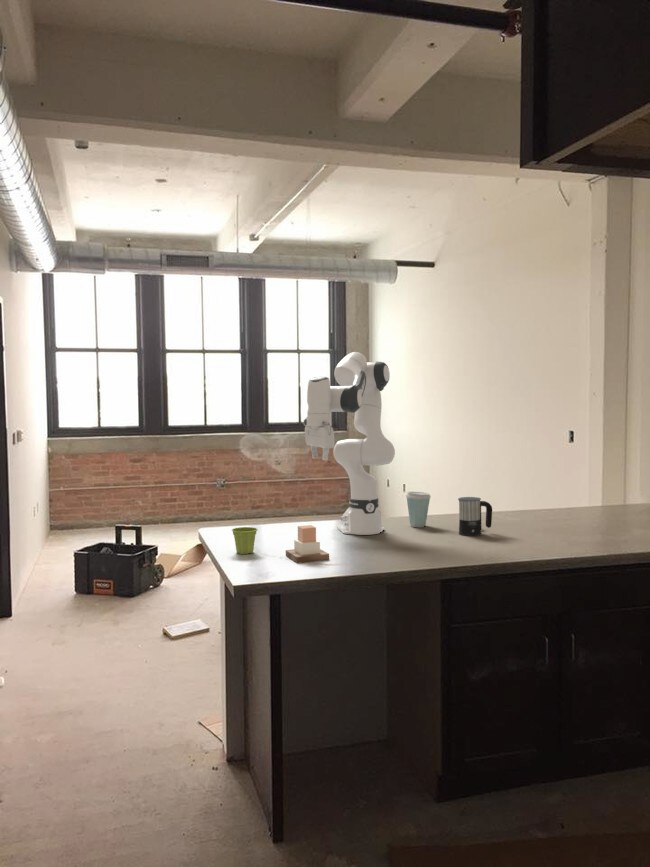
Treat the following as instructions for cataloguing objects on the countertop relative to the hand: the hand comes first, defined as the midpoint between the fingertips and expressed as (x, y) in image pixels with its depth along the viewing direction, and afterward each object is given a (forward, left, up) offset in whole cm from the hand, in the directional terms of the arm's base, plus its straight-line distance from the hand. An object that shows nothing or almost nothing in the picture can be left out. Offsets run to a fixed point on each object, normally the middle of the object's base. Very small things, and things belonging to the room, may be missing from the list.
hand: (319, 459), depth 256 cm
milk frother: (-8, +70, -34) cm, 78 cm away
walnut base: (+7, -8, -34) cm, 36 cm away
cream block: (+7, -8, -32) cm, 34 cm away
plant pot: (-10, -26, -34) cm, 44 cm away
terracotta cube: (+7, -8, -28) cm, 30 cm away
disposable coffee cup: (-28, +57, -34) cm, 72 cm away
